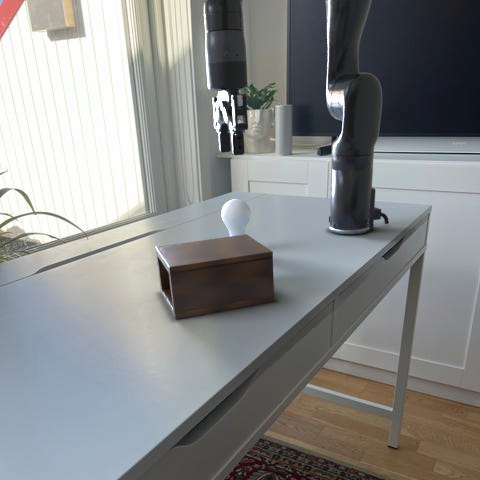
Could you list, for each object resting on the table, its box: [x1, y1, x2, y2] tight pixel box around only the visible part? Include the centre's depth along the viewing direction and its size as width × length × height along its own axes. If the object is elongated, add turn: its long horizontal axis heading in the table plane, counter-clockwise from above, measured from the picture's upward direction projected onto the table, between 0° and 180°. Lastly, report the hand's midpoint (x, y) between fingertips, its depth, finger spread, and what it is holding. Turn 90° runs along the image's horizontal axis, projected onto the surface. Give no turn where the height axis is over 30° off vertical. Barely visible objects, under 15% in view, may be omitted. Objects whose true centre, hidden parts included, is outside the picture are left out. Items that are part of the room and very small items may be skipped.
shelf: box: [155, 233, 275, 320], centre depth 77 cm, size 16×12×8 cm
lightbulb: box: [220, 198, 251, 237], centre depth 101 cm, size 6×6×11 cm
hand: (231, 153), depth 95 cm, fingers open, 8 cm apart
